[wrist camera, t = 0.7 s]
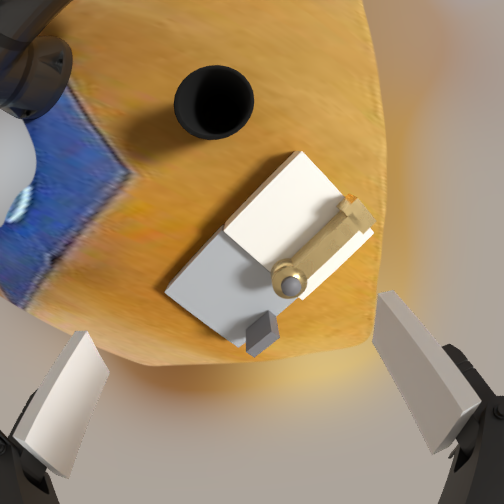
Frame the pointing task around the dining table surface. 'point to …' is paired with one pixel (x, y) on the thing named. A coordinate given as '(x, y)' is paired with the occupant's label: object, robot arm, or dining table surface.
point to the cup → (214, 102)
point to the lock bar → (323, 244)
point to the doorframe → (261, 255)
